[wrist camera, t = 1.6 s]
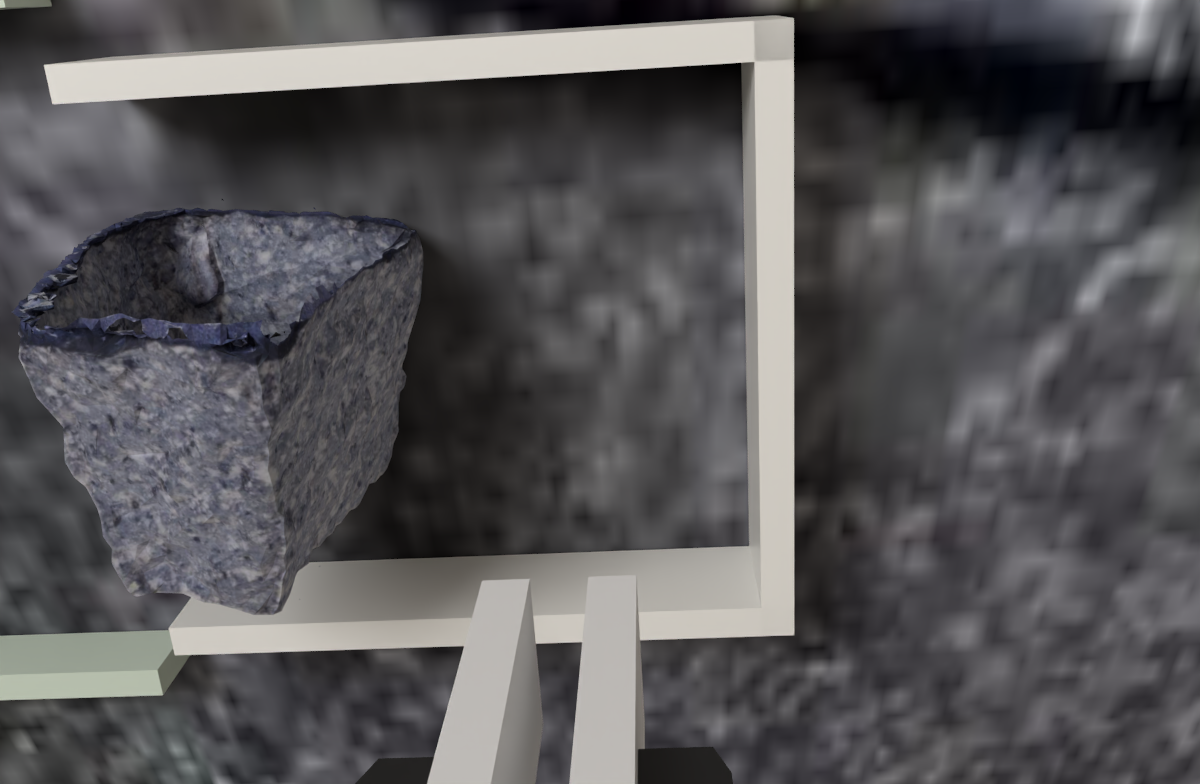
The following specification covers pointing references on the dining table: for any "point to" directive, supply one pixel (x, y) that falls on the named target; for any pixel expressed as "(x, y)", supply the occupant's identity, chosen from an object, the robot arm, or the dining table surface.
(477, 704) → the robot arm
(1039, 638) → the dining table surface
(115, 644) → the pale green u-shaped frame
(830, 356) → the dining table surface
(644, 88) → the dining table surface
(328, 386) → the stone
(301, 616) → the frame
